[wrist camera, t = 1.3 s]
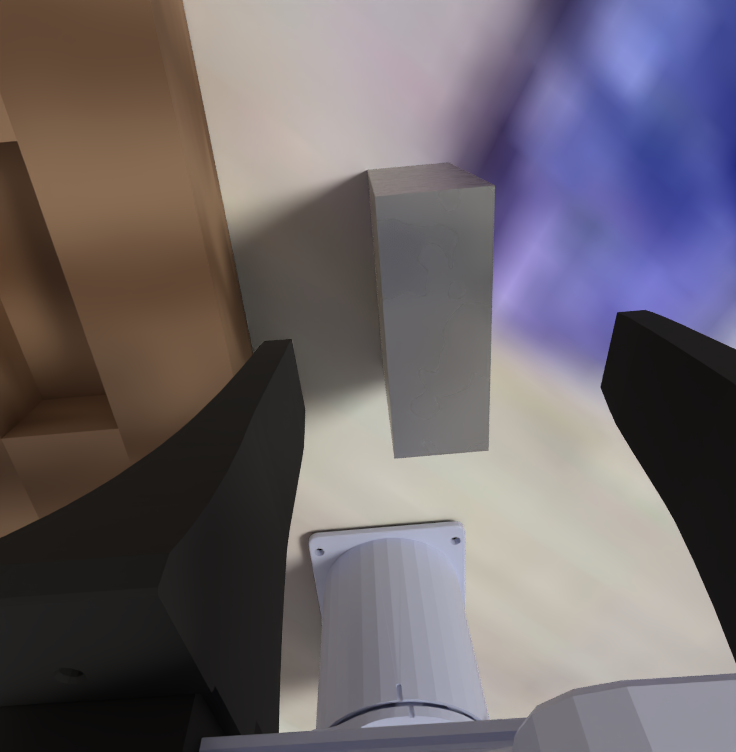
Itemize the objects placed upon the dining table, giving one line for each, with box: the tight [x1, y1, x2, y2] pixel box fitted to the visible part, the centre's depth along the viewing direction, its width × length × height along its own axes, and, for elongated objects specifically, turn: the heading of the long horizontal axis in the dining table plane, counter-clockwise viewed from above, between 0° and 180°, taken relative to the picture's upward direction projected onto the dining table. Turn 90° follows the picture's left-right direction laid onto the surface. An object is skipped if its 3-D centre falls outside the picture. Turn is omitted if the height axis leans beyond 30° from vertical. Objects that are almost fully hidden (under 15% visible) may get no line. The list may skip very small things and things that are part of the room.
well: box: [0, 0, 253, 538], centre depth 19 cm, size 22×14×4 cm, turn 5°
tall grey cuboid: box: [367, 162, 495, 459], centre depth 18 cm, size 8×3×7 cm, turn 5°
